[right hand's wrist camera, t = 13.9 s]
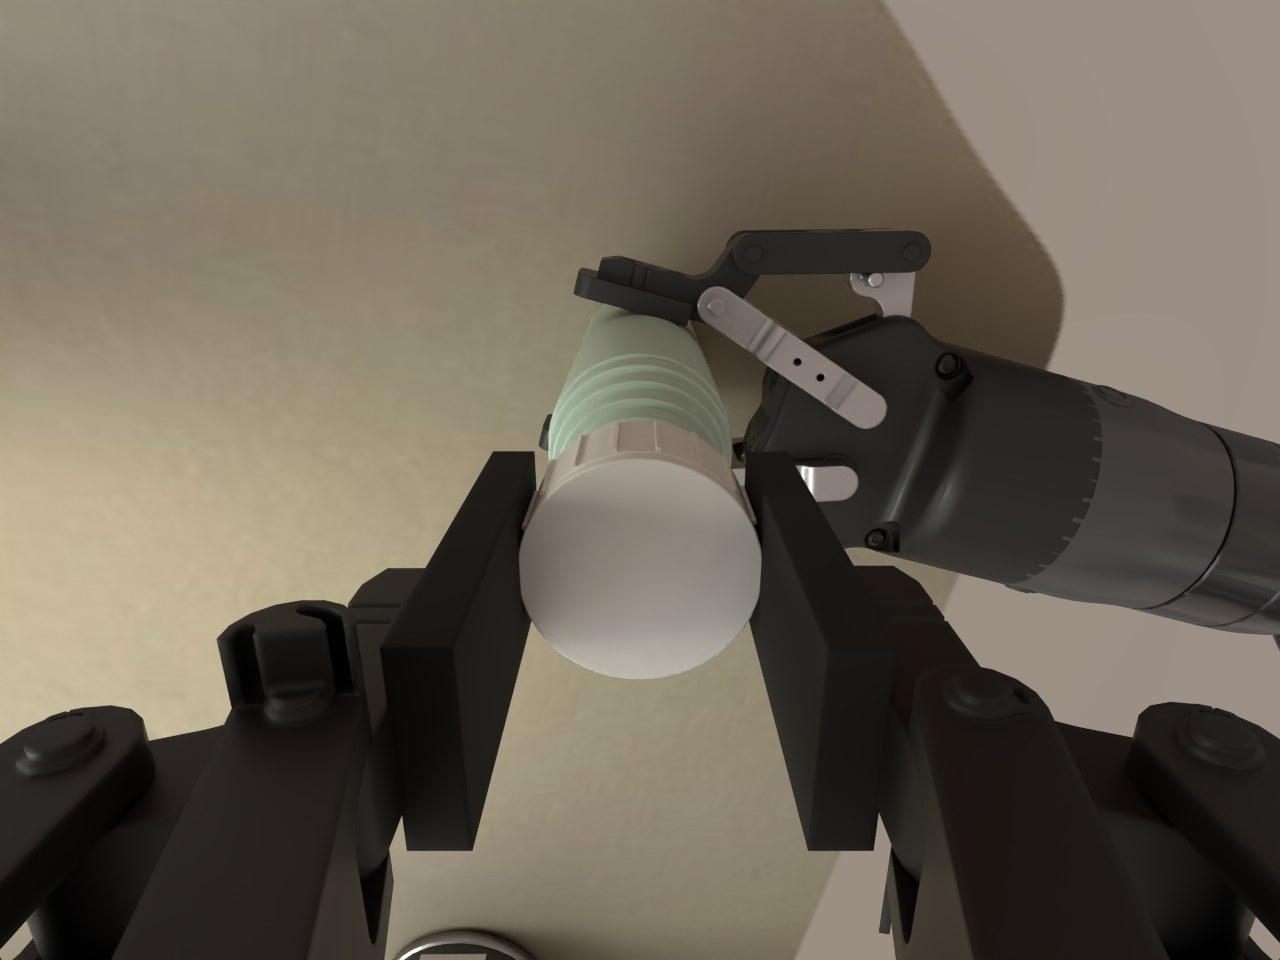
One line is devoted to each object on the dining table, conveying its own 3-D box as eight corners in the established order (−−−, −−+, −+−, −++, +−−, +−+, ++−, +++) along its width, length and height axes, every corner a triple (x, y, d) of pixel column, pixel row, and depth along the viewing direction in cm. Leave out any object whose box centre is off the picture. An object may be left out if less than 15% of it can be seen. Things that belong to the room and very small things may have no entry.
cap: (522, 603, 15) (504, 667, 13) (544, 401, 14) (527, 437, 11) (726, 629, 15) (738, 696, 13) (767, 433, 14) (790, 474, 12)
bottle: (607, 272, 31) (557, 389, 12) (712, 314, 31) (822, 490, 12) (569, 375, 32) (469, 628, 13) (670, 414, 33) (710, 708, 14)
